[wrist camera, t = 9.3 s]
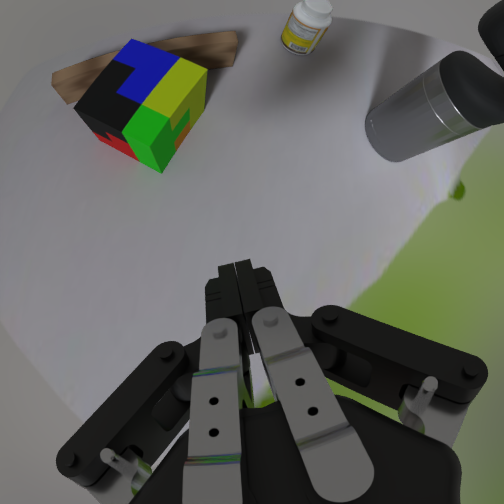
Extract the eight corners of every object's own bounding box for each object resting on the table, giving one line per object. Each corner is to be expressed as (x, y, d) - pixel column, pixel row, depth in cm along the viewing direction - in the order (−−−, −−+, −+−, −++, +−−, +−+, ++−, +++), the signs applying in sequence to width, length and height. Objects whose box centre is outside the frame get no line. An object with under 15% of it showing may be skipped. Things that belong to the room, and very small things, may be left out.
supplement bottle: (303, 30, 38) (325, -9, 28) (319, 54, 38) (346, 16, 28) (273, 34, 37) (291, -9, 27) (289, 59, 38) (312, 17, 27)
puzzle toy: (143, 82, 34) (131, 38, 24) (204, 111, 36) (207, 69, 26) (100, 140, 33) (73, 108, 23) (161, 173, 35) (149, 146, 25)
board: (229, 56, 36) (235, 30, 30) (232, 66, 36) (238, 41, 30) (67, 93, 32) (52, 73, 26) (67, 104, 32) (51, 84, 26)
